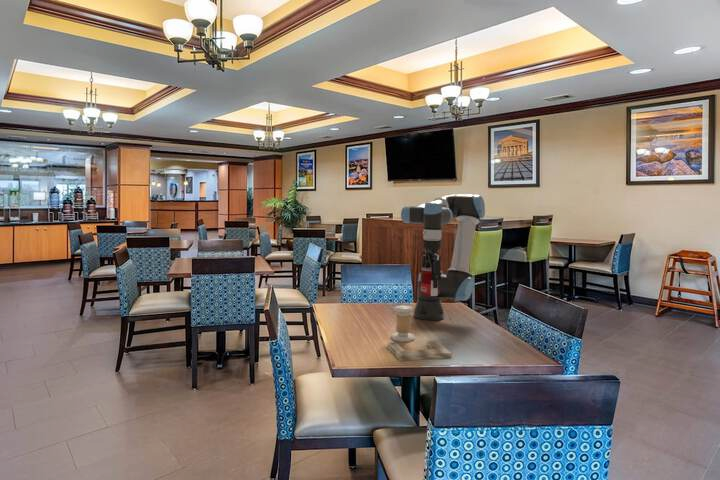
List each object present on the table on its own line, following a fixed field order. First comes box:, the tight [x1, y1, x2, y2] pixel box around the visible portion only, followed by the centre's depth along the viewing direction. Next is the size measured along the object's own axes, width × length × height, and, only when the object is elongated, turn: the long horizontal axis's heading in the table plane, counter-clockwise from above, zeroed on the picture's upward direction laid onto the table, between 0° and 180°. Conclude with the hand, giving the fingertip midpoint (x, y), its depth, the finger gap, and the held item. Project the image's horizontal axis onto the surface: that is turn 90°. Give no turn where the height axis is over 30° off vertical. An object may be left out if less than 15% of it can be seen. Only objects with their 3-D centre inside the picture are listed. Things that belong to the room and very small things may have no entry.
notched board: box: [387, 339, 452, 362], centre depth 171 cm, size 20×15×2 cm
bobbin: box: [390, 305, 416, 343], centre depth 188 cm, size 10×10×13 cm
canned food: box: [420, 266, 440, 296], centre depth 188 cm, size 8×8×11 cm
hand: (429, 293), depth 188 cm, fingers closed on canned food, 8 cm apart
